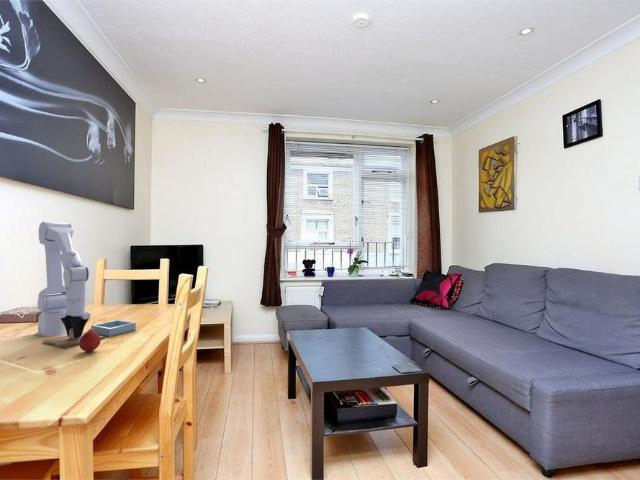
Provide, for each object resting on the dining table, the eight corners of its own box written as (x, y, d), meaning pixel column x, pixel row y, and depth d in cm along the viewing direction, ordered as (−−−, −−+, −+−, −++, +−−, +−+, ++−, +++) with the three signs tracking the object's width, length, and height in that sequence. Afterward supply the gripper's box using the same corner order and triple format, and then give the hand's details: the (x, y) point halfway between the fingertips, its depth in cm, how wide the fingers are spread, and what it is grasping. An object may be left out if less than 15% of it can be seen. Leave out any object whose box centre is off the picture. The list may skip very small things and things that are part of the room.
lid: (43, 343, 119) (43, 330, 119) (82, 334, 131) (82, 323, 131) (65, 348, 114) (65, 335, 114) (103, 338, 125) (104, 327, 125)
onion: (89, 356, 107) (89, 331, 107) (74, 355, 108) (75, 330, 108) (104, 350, 113) (105, 327, 113) (90, 349, 114) (90, 326, 114)
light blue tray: (91, 334, 132) (91, 325, 132) (117, 328, 142) (117, 319, 142) (109, 337, 128) (109, 328, 128) (135, 331, 138) (135, 322, 138)
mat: (40, 344, 119) (40, 343, 119) (82, 334, 131) (82, 333, 131) (64, 350, 113) (64, 349, 113) (105, 339, 126) (105, 338, 126)
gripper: (51, 299, 122) (50, 336, 121) (75, 302, 116) (74, 342, 116) (72, 296, 128) (71, 332, 128) (96, 299, 122) (95, 337, 122)
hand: (74, 336), depth 122 cm, fingers closed on lid, 3 cm apart
